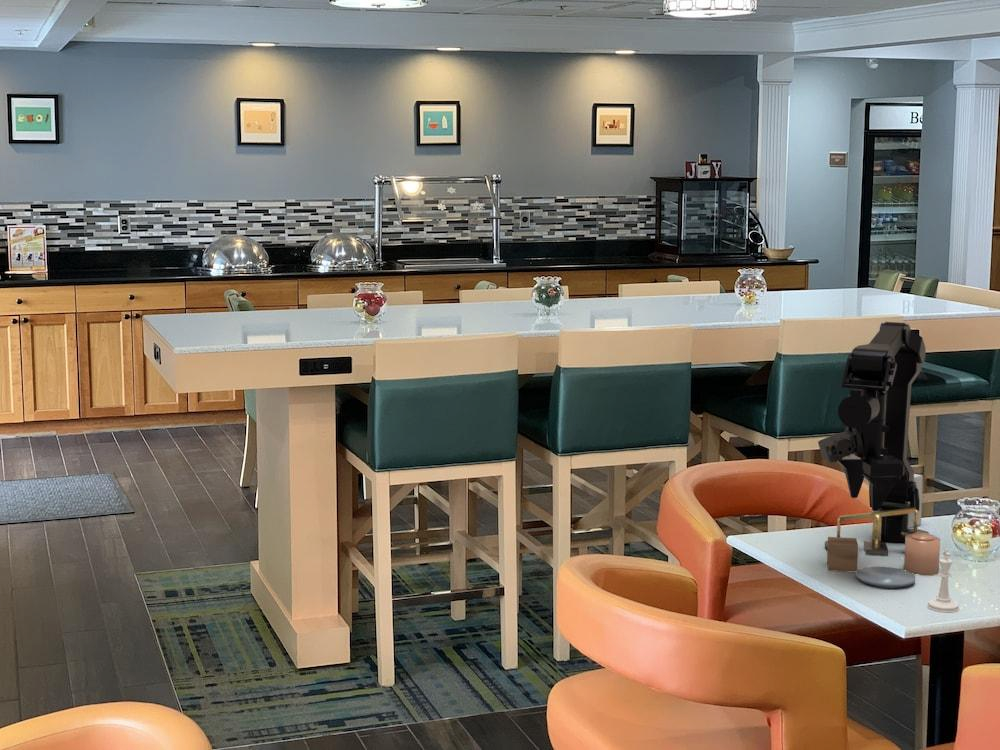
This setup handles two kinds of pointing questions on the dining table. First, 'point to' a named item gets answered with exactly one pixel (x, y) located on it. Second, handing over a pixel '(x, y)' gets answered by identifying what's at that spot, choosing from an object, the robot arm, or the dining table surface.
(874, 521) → the balance
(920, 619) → the dining table surface
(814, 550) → the dining table surface
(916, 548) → the terracotta lidded jar
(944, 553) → the chess piece
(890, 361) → the robot arm
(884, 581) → the disc
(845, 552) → the walnut block
